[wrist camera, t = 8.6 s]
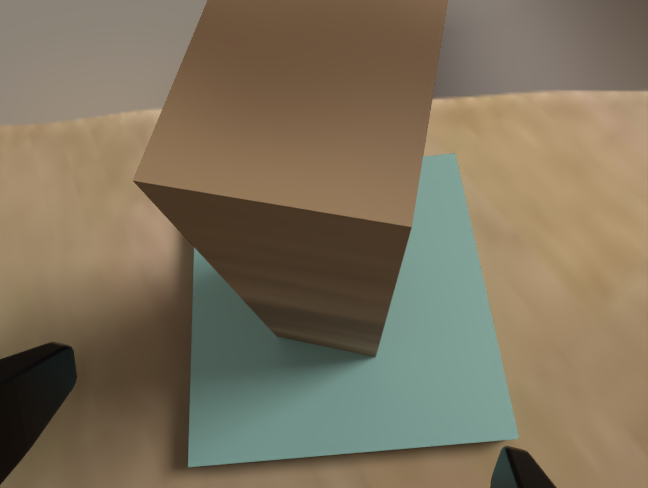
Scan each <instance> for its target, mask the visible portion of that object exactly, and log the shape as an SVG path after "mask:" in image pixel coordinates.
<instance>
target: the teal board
mask: <svg viewBox="0 0 648 488" xmlns="http://www.w3.org/2000/svg"><path fill="white" fill-rule="evenodd" d="M511 439H519V436H518V432H517V427H516V423H515V418H514V414H513V409H512V405H511V400H510V396H509V391H508V387H507V383H506V378H505V374H504V369H503V365H502V360H501V356H500V351H499V347H498V342H497V338H496V333H495V329H494V324H493V320H492V315H491V311H490V306H489V302H488V297H487V293H486V289H485V284H484V280H483V275H482V271H481V266H480V262H479V257H478V253H477V248H476V244H475V239H474V235H473V230H472V226H471V221H470V217H469V212H468V208H467V204H466V199H465V195H464V190H463V186H462V181H461V177H460V172H459V168H458V163H457V159H456V154H455V153H453V154H443V155H434V156H425V157H423V160H422V167H421V173H420V179H419V186H418V192H417V198H416V204H415V211H414V217H413V223H412V228H411V232H410V236H409V239H408V243H407V246H406V250H405V254H404V257H403V261H402V264H401V268H400V272H399V275H398V279H397V283H396V286H395V290H394V293H393V297H392V301H391V304H390V308H389V311H388V315H387V319H386V322H385V326H384V329H383V333H382V337H381V340H380V344H379V347H378V351H377V355H376V357H372V356H367V355H362V354H358V353H353V352H348V351H343V350H338V349H334V348H329V347H324V346H319V345H315V344H310V343H305V342H300V341H295V340H291V339H286V338H281V337H276V335H275V334H274V333H273V332H272V331H271V330H270V329H269V328H268V327H267V326H266V325H265V323H264V322H263V321H262V320H261V319H260V318H259V317H258V316H257V315H256V314H255V313H254V312H253V310H252V309H251V308H250V307H249V306H248V305H247V304H246V303H245V302H244V301H243V300H242V299H241V297H240V296H239V295H238V294H237V293H236V292H235V291H234V290H233V289H232V288H231V287H230V286H229V284H228V283H227V282H226V281H225V280H224V279H223V278H222V277H221V276H220V275H219V274H218V272H217V271H216V270H215V269H214V268H213V267H212V266H211V265H210V264H209V263H208V262H207V261H206V259H205V258H204V257H203V256H202V255H201V254H200V253H199V252H198V251H197V250H196V249H195V248H194V269H193V304H192V340H191V376H190V412H189V448H188V467H197V466H209V465H221V464H232V463H244V462H255V461H267V460H279V459H290V458H302V457H314V456H325V455H337V454H348V453H360V452H372V451H383V450H395V449H406V448H418V447H430V446H441V445H453V444H465V443H476V442H488V441H499V440H511Z"/></svg>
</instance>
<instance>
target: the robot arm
mask: <svg viewBox="0 0 648 488" xmlns="http://www.w3.org/2000/svg"><path fill="white" fill-rule="evenodd" d="M76 378H77V373H76V366H75V358H74V351H73V349H72V347H71V346H69V345H65V344H61V343H57V342H51V343H47V344H44V345H41V346H38V347H35V348H33V349H30V350H27V351H24V352H21V353H18V354H15V355H12V356H9V357H6V358H3V359H0V485H1V483H2V482H3V481H4V480H5V479H6V477H7V476H8V475H9V474H10V473H11V471H12V470H13V469H14V468H15V467H16V466H17V464H18V463H19V462H20V461H21V460H22V458H23V457H24V456H25V455H26V453H27V452H28V451H29V450H30V448H31V447H32V445H33V444H34V443H35V441H36V440H37V439H38V437H39V436H40V434H41V433H42V432H43V430H44V429H45V427H46V426H47V424H48V423H49V422H50V420H51V419H52V417H53V416H54V414H55V413H56V412H57V410H58V409H59V407H60V406H61V404H62V403H63V402H64V400H65V399H66V397H67V396H68V395H69V393H70V392H71V390H72V389H73V387H74V385H75V383H76ZM490 488H556V486H555V485H554V484H553V483H552V481H551V480H550V479H549V478H548V476H547V475H546V474H545V473H544V471H543V470H542V469H541V468H540V466H539V465H538V464H537V463H536V461H535V460H534V459H533V458H532V456H531V455H530V454H529V453H528V452H527V451H525V450H522V449H518V448H514V447H509V446H505V447H503V448H502V450H501V452H500V455H499V457H498V460H497V463H496V466H495V469H494V472H493V474H492V478H491V486H490Z"/></svg>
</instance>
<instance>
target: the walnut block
mask: <svg viewBox="0 0 648 488" xmlns="http://www.w3.org/2000/svg"><path fill="white" fill-rule="evenodd" d="M447 3H448V0H207V3H206V5H205V8H204V10H203V13H202V15H201V17H200V20H199V23H198V25H197V27H196V30H195V32H194V34H193V37H192V39H191V42H190V44H189V46H188V49H187V51H186V54H185V56H184V58H183V61H182V63H181V66H180V68H179V71H178V73H177V75H176V78H175V80H174V83H173V85H172V87H171V90H170V92H169V95H168V97H167V100H166V102H165V104H164V107H163V109H162V112H161V114H160V116H159V119H158V121H157V124H156V126H155V129H154V131H153V133H152V136H151V138H150V141H149V143H148V145H147V148H146V150H145V153H144V155H143V158H142V160H141V162H140V165H139V167H138V170H137V172H136V174H135V177H134V179H133V181H134V182H135V184H136V185H137V186H138V187H139V188H140V189H141V190H142V191H143V192H144V193H145V194H146V195H147V197H148V198H149V199H150V200H151V201H152V202H153V203H154V204H155V205H156V206H157V207H158V208H159V210H160V211H161V212H162V213H163V214H164V215H165V216H166V217H167V218H168V219H169V220H170V221H171V223H172V224H173V225H174V226H175V227H176V228H177V229H178V230H179V231H180V232H181V233H182V235H183V236H184V237H185V238H186V239H187V240H188V241H189V242H190V243H191V244H192V245H193V246H194V248H195V249H196V250H197V251H198V252H199V253H200V254H201V255H202V256H203V257H204V258H205V259H206V261H207V262H208V263H209V264H210V265H211V266H212V267H213V268H214V269H215V270H216V271H217V272H218V274H219V275H220V276H221V277H222V278H223V279H224V280H225V281H226V282H227V283H228V284H229V286H230V287H231V288H232V289H233V290H234V291H235V292H236V293H237V294H238V295H239V296H240V297H241V299H242V300H243V301H244V302H245V303H246V304H247V305H248V306H249V307H250V308H251V309H252V310H253V312H254V313H255V314H256V315H257V316H258V317H259V318H260V319H261V320H262V321H263V322H264V323H265V325H266V326H267V327H268V328H269V329H270V330H271V331H272V332H273V333H274V334H275V335H276V337H281V338H286V339H291V340H295V341H300V342H305V343H310V344H315V345H319V346H324V347H329V348H334V349H338V350H343V351H348V352H353V353H358V354H362V355H367V356H372V357H376V355H377V351H378V347H379V344H380V340H381V337H382V333H383V329H384V326H385V322H386V319H387V315H388V311H389V308H390V304H391V301H392V297H393V293H394V290H395V286H396V283H397V279H398V275H399V272H400V268H401V264H402V261H403V257H404V254H405V250H406V246H407V243H408V239H409V236H410V232H411V228H412V223H413V217H414V211H415V204H416V198H417V192H418V186H419V179H420V173H421V167H422V160H423V154H424V148H425V142H426V135H427V129H428V123H429V116H430V110H431V104H432V98H433V91H434V85H435V79H436V72H437V66H438V59H439V54H440V47H441V41H442V35H443V28H444V22H445V16H446V10H447Z"/></svg>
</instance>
